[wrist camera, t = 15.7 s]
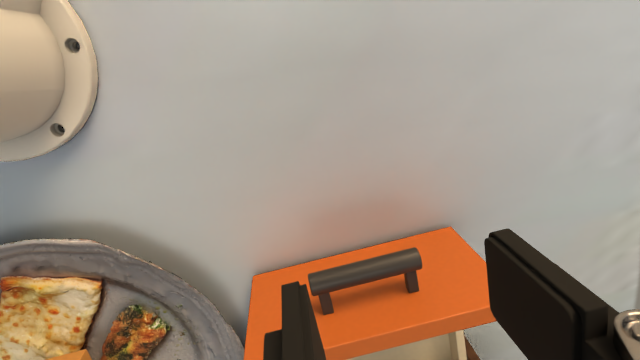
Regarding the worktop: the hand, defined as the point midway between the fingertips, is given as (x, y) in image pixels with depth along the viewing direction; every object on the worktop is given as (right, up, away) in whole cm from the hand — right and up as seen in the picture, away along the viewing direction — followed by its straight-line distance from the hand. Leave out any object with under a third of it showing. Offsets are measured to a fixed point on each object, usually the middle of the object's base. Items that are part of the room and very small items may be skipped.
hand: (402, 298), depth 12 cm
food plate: (-22, -12, +20) cm, 32 cm away
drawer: (+1, -7, +21) cm, 22 cm away
